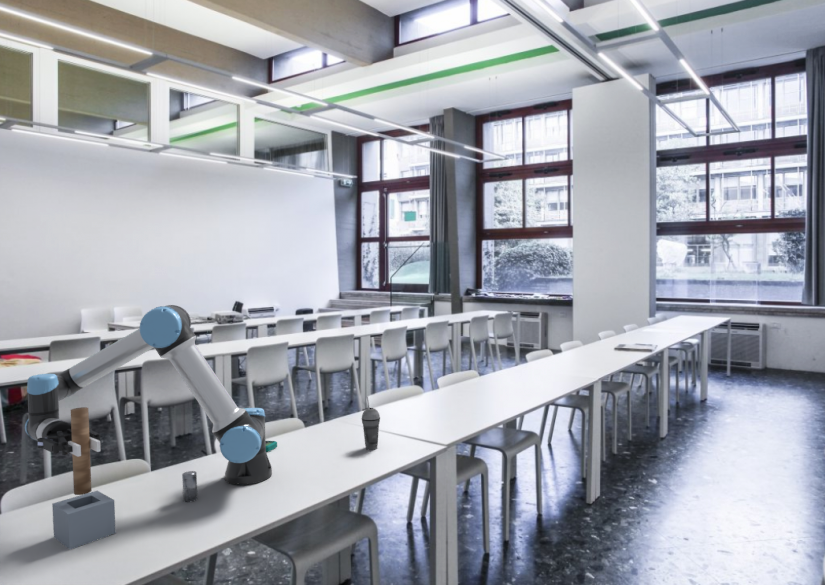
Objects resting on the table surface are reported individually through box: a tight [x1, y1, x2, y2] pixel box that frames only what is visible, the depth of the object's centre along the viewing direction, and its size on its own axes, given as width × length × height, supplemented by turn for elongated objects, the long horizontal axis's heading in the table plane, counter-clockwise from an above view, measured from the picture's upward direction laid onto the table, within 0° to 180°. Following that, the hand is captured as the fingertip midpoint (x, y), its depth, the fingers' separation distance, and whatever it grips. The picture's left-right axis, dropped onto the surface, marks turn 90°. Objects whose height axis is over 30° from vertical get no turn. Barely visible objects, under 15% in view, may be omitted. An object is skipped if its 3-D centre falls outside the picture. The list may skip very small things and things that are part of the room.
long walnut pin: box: [70, 406, 93, 496], centre depth 147 cm, size 4×4×22 cm
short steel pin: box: [181, 470, 198, 503], centre depth 171 cm, size 4×4×8 cm
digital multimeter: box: [266, 440, 278, 453], centre depth 220 cm, size 7×15×3 cm, turn 74°
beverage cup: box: [361, 396, 381, 451], centre depth 217 cm, size 7×7×20 cm
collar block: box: [51, 490, 117, 550], centre depth 148 cm, size 11×11×9 cm
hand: (89, 448), depth 144 cm, fingers closed on long walnut pin, 4 cm apart
